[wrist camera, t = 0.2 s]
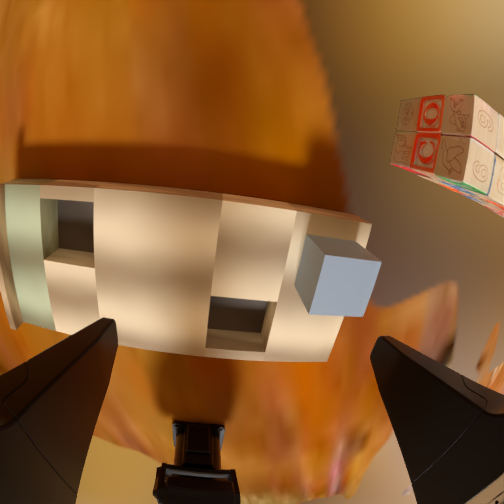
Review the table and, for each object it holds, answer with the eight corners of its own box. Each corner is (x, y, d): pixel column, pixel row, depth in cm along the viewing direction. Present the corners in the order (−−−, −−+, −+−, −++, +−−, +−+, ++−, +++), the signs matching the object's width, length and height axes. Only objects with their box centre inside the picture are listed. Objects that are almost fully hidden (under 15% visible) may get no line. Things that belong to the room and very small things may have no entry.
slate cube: (341, 289, 22) (362, 316, 18) (294, 285, 21) (308, 314, 17) (355, 241, 20) (381, 262, 17) (306, 234, 20) (325, 254, 16)
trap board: (317, 342, 27) (331, 372, 23) (31, 304, 23) (10, 328, 19) (355, 214, 23) (381, 229, 19) (18, 178, 18) (-13, 187, 14)
